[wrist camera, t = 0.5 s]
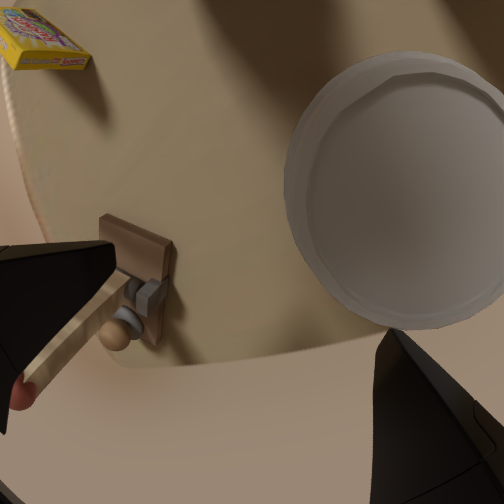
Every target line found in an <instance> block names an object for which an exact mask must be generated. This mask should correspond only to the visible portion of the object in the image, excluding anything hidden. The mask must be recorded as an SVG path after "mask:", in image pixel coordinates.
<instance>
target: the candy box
mask: <svg viewBox="0 0 504 504" xmlns="http://www.w3.org/2000/svg"><path fill="white" fill-rule="evenodd" d="M0 53H1V54H2V56H3V57H4V58H5V60H6V61H7V62H8V64H9V65H10V66H11V68H12V69H13V70H38V69H69V70H70V69H74V70H84V68H85V66H86V64H87V63H88V61H89V59H90V57H91V55H90V54H88V53H87V52H86V51H85V50H84V49H82V48H81V47H80V46H79V45H78V44H76V43H75V42H74V41H73V40H72V39H70V38H69V37H68V36H67V35H66V34H64V33H63V32H62V31H61V30H60V29H58V28H57V27H56V26H55V25H53V24H52V23H51V22H49V21H48V20H47V19H46V18H44V17H43V16H42V15H40V14H39V13H38V12H36V11H35V10H34V9H28V8H14V7H0Z"/></svg>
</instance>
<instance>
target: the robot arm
mask: <svg viewBox="0 0 504 504" xmlns="http://www.w3.org/2000/svg"><path fill="white" fill-rule="evenodd" d="M116 266H117V261H116V251H115V245H114V244H113V243H111V242H109V241H106V240H96V241H78V242H60V243H43V244H29V245H12V246H9V245H7V246H0V432H1V433H2V434H3V435H5V433H6V429H7V421H8V414H9V407H10V401H11V395H12V390H13V386H14V384H15V382H16V380H17V378H18V377H19V375H21V373H22V372H23V371H24V370H25V369H26V368H27V367H28V365H29V364H30V363H31V362H32V361H33V360H34V359H35V358H36V356H37V355H38V354H39V353H40V352H41V351H42V350H43V349H44V348H45V346H46V345H47V344H48V343H49V342H50V341H51V340H52V339H53V338H54V337H55V336H56V335H57V334H58V333H59V331H60V330H61V329H62V328H63V327H64V326H65V325H66V324H67V323H68V322H69V321H70V320H71V319H72V318H73V317H74V316H75V315H76V314H77V313H78V312H79V311H80V310H81V309H82V308H83V307H84V306H85V305H86V304H87V303H88V302H89V301H90V300H91V299H92V298H93V297H94V295H95V294H96V293H97V292H98V291H99V289H100V288H101V287H102V286H103V285H104V283H105V282H106V281H107V280H108V279H109V277H110V276H111V275H112V274H113V273H114V271H115V269H116ZM0 504H25V503H24V502H23V501H21V500H20V499H19V498H18V497H17V496H16V495H15V494H14V493H13V492H12V491H11V490H10V489H9V488H8V487H7V486H6V485H5V484H4V483H3V482H2V481H1V480H0ZM370 504H504V427H503V426H502V425H501V424H500V423H499V422H498V421H497V420H496V419H495V418H494V417H493V416H492V415H491V414H490V413H489V412H488V411H487V410H486V409H485V408H484V407H482V405H480V403H479V402H478V401H477V400H474V398H473V397H472V396H471V395H470V394H469V393H468V392H467V391H466V390H465V389H464V388H463V387H462V386H460V384H459V383H458V382H457V381H455V380H454V379H453V378H452V377H451V376H450V375H449V374H448V373H447V372H446V371H445V370H444V369H443V368H442V367H441V366H440V365H439V364H438V363H437V362H436V361H435V360H433V359H432V358H431V357H430V356H429V355H428V354H427V353H426V352H425V351H423V349H422V348H421V347H419V346H418V345H417V344H416V343H415V342H414V341H413V340H412V339H411V338H410V337H409V336H407V335H406V334H405V333H404V332H403V331H401V330H398V329H394V328H390V329H389V330H388V331H387V333H386V334H385V336H384V338H383V340H382V341H381V343H380V344H379V346H378V348H377V351H376V355H375V370H374V383H373V461H372V479H371V493H370Z"/></svg>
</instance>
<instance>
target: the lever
mask: <svg viewBox="0 0 504 504" xmlns="http://www.w3.org/2000/svg"><path fill="white" fill-rule="evenodd" d="M144 285H145V283H144V281H142V280H140V279H138V278H136V277H134V276H132V275H130V274H128V273H126V272H124V271H122V270H120V269H118V268H116V269H115V271H114V273H113V274H112V275H111V276H110V277H109V279H108V280H107V281H106V282H105V283H104V285H103V286H102V287H101V288H100V289H99V291H98V292H97V293H96V294H95V295H94V297H93V298H92V299H91V300H90V301H89V302H88V303H87V304H86V305H85V306H84V307H83V308H82V309H81V310H80V311H79V312H78V313H77V314H76V315H75V316H74V317H73V318H72V319H71V320H70V321H69V322H68V323H67V324H66V325H65V326H64V327H63V328H62V329H61V330H60V331H59V333H58V334H57V335H56V336H55V337H54V338H53V339H52V340H51V341H50V342H49V343H48V344H47V345H46V346H45V348H44V349H43V350H42V351H41V352H40V353H39V354H38V355H37V356H36V358H35V359H34V360H33V361H32V362H31V363H30V364H29V365H28V367H27V368H26V369H25V370H24V371H23V372H22V373H21V375H19V377H18V378H17V380H16V382H15V384H14V386H13V390H12V395H11V401H10V407H9V408H10V409H13V410H17V411H21V410H25V409H27V408H29V407H30V406H31V405H32V404H33V403H34V401H35V399H36V398H37V397H38V396H39V394H40V393H41V392H42V391H43V390H44V389H45V388H46V386H47V385H48V384H49V383H50V382H51V381H52V379H53V378H54V377H55V376H56V375H57V374H58V373H59V372H60V371H61V370H62V368H63V367H64V366H65V365H66V364H67V363H68V362H69V361H70V360H71V359H72V358H73V356H74V355H75V354H76V353H77V352H78V351H79V350H80V349H81V348H82V347H83V346H84V345H85V344H86V342H87V341H88V340H89V339H90V338H91V337H92V336H93V335H94V334H95V333H96V332H97V331H98V330H99V329H100V328H101V327H102V326H103V325H104V324H105V323H106V322H107V321H108V320H109V319H110V318H111V317H112V316H113V315H114V314H115V312H116V311H117V310H118V309H119V308H120V307H121V306H122V305H123V304H124V303H125V302H126V301H127V300H130V301H131V302H133V303H136V293H137V292H138V291H139V290H140V289H141V288H142V287H143V286H144Z"/></svg>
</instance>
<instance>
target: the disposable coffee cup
mask: <svg viewBox="0 0 504 504" xmlns="http://www.w3.org/2000/svg"><path fill="white" fill-rule="evenodd" d="M284 199H285V206H286V214H287V219H288V222H289V225H290V228H291V231H292V234H293V237H294V240H295V243H296V245H297V247H298V248H299V250H300V252H301V254H302V256H303V258H304V260H305V261H306V263H307V264H308V265H309V267H310V268H311V269H312V271H313V272H314V274H315V275H316V277H317V278H318V280H319V281H320V283H321V284H322V285H323V286H324V287H325V289H326V290H327V291H328V292H329V293H330V294H331V295H332V296H333V297H334V298H335V299H336V300H337V301H339V302H340V303H341V304H342V305H344V306H345V307H346V308H347V309H349V310H350V311H351V312H353V313H355V314H357V315H359V316H361V317H363V318H365V319H367V320H369V321H371V322H373V323H375V324H379V325H383V326H388V327H392V328H397V329H402V330H423V329H438V328H442V327H445V326H448V325H451V324H454V323H457V322H460V321H463V320H465V319H468V318H470V317H472V316H474V315H475V314H476V313H478V312H480V311H482V310H483V309H485V308H486V307H488V306H489V305H491V304H492V303H493V302H494V301H495V300H497V299H498V298H499V297H500V296H501V295H502V294H503V293H504V95H503V94H502V93H501V92H500V91H499V90H498V89H497V88H496V87H494V86H493V85H491V84H490V83H489V82H487V81H486V80H484V79H483V78H482V77H481V76H479V75H478V74H477V73H476V72H474V71H473V70H471V69H469V68H467V67H465V66H463V65H461V64H459V63H457V62H455V61H453V60H451V59H449V58H445V57H442V56H438V55H434V54H430V53H426V52H410V51H396V52H391V53H386V54H382V55H377V56H373V57H370V58H367V59H365V60H363V61H360V62H358V63H356V64H353V65H351V66H350V67H348V68H347V69H345V70H344V71H342V72H341V73H340V74H338V75H337V76H335V77H334V78H332V79H331V80H330V81H329V82H328V83H327V84H326V85H325V86H324V87H323V88H322V89H321V90H320V91H319V92H318V93H317V94H316V95H315V97H314V98H313V100H312V101H311V102H310V104H309V105H308V107H307V108H306V109H305V111H304V112H303V114H302V116H301V118H300V120H299V122H298V124H297V126H296V129H295V131H294V133H293V136H292V139H291V142H290V145H289V148H288V153H287V158H286V163H285V168H284Z"/></svg>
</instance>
